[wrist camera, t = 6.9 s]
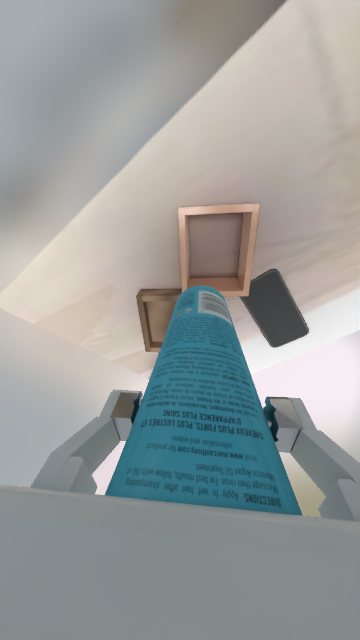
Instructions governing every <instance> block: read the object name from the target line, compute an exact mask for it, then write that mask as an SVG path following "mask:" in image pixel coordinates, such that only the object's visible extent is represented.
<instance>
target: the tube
mask: <svg viewBox="0 0 360 640" xmlns="http://www.w3.org/2000/svg"><path fill="white" fill-rule="evenodd" d="M105 495H106V496H116V497H126V498H135V499H145V500H155V501H164V502H174V503H184V504H193V505H203V506H213V507H222V508H232V509H242V510H251V511H261V512H271V513H280V514H290V515H300V516H302V513H301V510H300V508H299V506H298V502H297V500H296V497H295V495H294V492H293V490H292V487H291V484H290V482H289V479H288V476H287V474H286V471H285V468H284V466H283V463H282V460H281V457H280V455H279V452H278V449H277V447H276V444H275V441H274V439H273V436H272V433H271V430H270V427H269V425H268V422H267V419H266V416H265V414H264V411H263V408H262V406H261V403H260V400H259V397H258V394H257V391H256V388H255V386H254V383H253V380H252V377H251V374H250V371H249V369H248V366H247V363H246V360H245V357H244V354H243V351H242V349H241V346H240V343H239V340H238V337H237V334H236V331H235V328H234V325H233V323H232V320H231V317H230V314H229V311H228V308H227V305H226V302H225V300H224V298H223V296H222V295H221V294H220V293H219V292H218V291H217V290H216V289H214V288H212V287H209V286H204V285H198V286H193V287H190V288H188V289H186V290H185V291H184V292H183V293H182V294H181V295H180V296H179V298H178V300H177V302H176V305H175V308H174V311H173V314H172V317H171V320H170V323H169V326H168V329H167V332H166V335H165V338H164V341H163V344H162V347H161V349H160V352H159V355H158V358H157V361H156V364H155V366H154V369H153V372H152V374H151V377H150V380H149V383H148V386H147V388H146V391H145V394H144V396H143V399H142V402H141V404H140V407H139V409H138V412H137V415H136V417H135V420H134V423H133V425H132V428H131V430H130V433H129V436H128V438H127V441H126V444H125V446H124V448H123V451H122V454H121V456H120V459H119V462H118V464H117V466H116V469H115V472H114V474H113V476H112V479H111V481H110V483H109V486H108V489H107V491H106V493H105Z"/></svg>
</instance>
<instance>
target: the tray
mask: <svg viewBox="0 0 360 640" xmlns="http://www.w3.org/2000/svg"><path fill="white" fill-rule="evenodd" d="M181 294H182V289H142V290H140V291H139V293H138V294H137V296H136V298H137V304H138V310H139V315H140V321H141V327H142V332H143V338H144V344H145V350H146V352H160V349H161V347H162V344H163V341H164V338H165V335H166V332H167V329H168V326H169V323H170V320H171V317H172V314H173V311H174V308H175V305H176V302H177V300H178V298H179V296H180V295H181Z"/></svg>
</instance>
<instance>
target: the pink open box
mask: <svg viewBox="0 0 360 640" xmlns="http://www.w3.org/2000/svg"><path fill="white" fill-rule="evenodd" d="M259 210H260V204H259V203H240V204H223V205H205V206H188V207H180V208H178V223H179V243H180V263H181V283H182V293H183V292H184V291H185V290H186V289H188V288H190V287H193V286H198V285H204V286H209V287H212V288H214V289H216V290H217V291H218V292H219V293H220V294H221V295H222V296H249V288H250V280H251V272H252V264H253V257H254V249H255V241H256V233H257V226H258V218H259ZM238 212H244V213H243V223H242V234H241V245H240V255H239V266H238V276H237V277H229V278H190V266H189V230H188V215H200V214H219V213H238Z"/></svg>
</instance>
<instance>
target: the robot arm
mask: <svg viewBox="0 0 360 640" xmlns="http://www.w3.org/2000/svg"><path fill="white" fill-rule="evenodd" d="M142 396H143V395H142V392H141V391H128V390H113V391H112V392H111V394H110V395H109V398H108V400H107V402H106V404H105V406H104V408H103V410H102V412H101V414H100V416H99V417H96V418H94V419H93V420H92V421H91V422H89V423H88V424H87V425H86V426H84V427H83V428H82V429H81V430H79V431H78V432H77V433H76V434H74V435H73V436H72V437H71V438H69V439H68V440H67V441H66V442H64V443H63V444H62V445H61V446H59V447H58V448H57V449H56V450H54V451H53V452H52V453H51V454H50V456H49V457H48V459H47V460H46V462H45V464H44V466H43V467H42V469H41V470H40V472H39V474H38V475H37V477H36V479H35V480H34V482H33V484H32V485H31V487H30V488H28V487H19V486H9V485H0V640H360V463H359V462H358V461H356V460H355V459H354V458H353V457H352V456H350V455H349V454H348V453H347V452H345V451H344V450H343V449H342V448H341V447H340V446H338V445H337V444H336V443H335V442H334V441H332V440H331V439H330V438H329V437H328V436H326V435H325V434H324V433H323V432H322V431H318V430H317V429H316V427H315V425H314V423H313V421H312V419H311V417H310V415H309V413H308V412H307V410H306V408H305V406H304V404H303V402H302V400H301V399H300V398H287V397H267V398H266V400H265V403H266V406H265V407H264V408H263V411H264V414H265V416H266V419H267V422H268V425H269V427H270V430H271V433H272V436H273V439H274V441H275V444H276V447H277V449H278V452H286V453H291V455H292V456H293V457H294V459H295V460H296V461H297V462H298V463H299V465H300V466H301V467H302V468H303V469H304V471H305V472H306V473H307V474H308V475H309V477H310V478H311V479H312V480H313V481H314V483H315V484H316V485H317V486H318V488H320V490H321V491H322V492H323V493H324V495H325V496H326V498H325V499H324V501H323V502H322V503H321V505H320V507H319V508H318V510H319V512H320V515H321V518H318V517H309V516H300V515H290V514H280V513H271V512H261V511H251V510H242V509H232V508H222V507H213V506H203V505H193V504H184V503H174V502H164V501H155V500H145V499H135V498H126V497H116V496H106V495H96V494H95V492H96V489H97V485H96V483H95V481H94V479H93V477H92V475H91V474H92V473H93V472H94V471H95V470H96V469H97V468H98V466H99V465H100V464H101V463H102V462H103V461H104V460H105V458H106V457H107V456H108V455H109V454H110V453H111V452H112V450H113V449H114V448H115V447H116V445H118V444H119V442H120V441H127V438H128V436H129V433H130V430H131V428H132V425H133V423H134V420H135V417H136V415H137V412H138V409H139V407H140V404H141V402H142Z"/></svg>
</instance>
